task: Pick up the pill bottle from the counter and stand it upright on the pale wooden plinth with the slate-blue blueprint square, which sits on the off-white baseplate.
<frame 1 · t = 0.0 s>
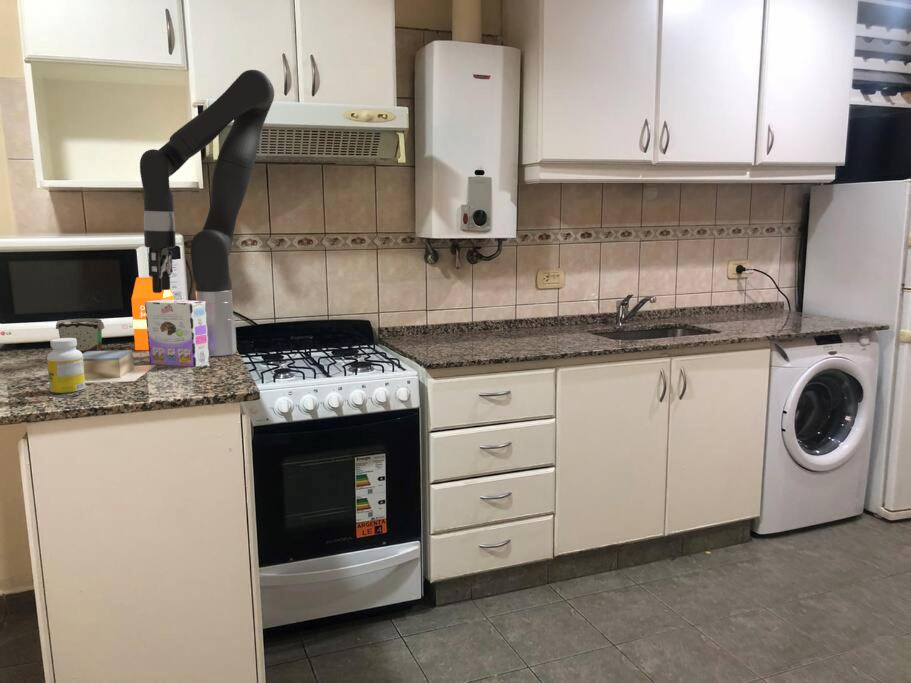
hand: (161, 291, 188), 17 cm above the countertop, tool pointing down, fingers open, 8 cm apart
plinth: (104, 373, 163), resting on baseplate
baseplate: (104, 378, 163), on the countertop
orange juice: (156, 348, 203), on the countertop
pill bottle: (68, 396, 147), on the countertop
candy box: (179, 367, 176), on the countertop
food container: (88, 358, 188), on the countertop
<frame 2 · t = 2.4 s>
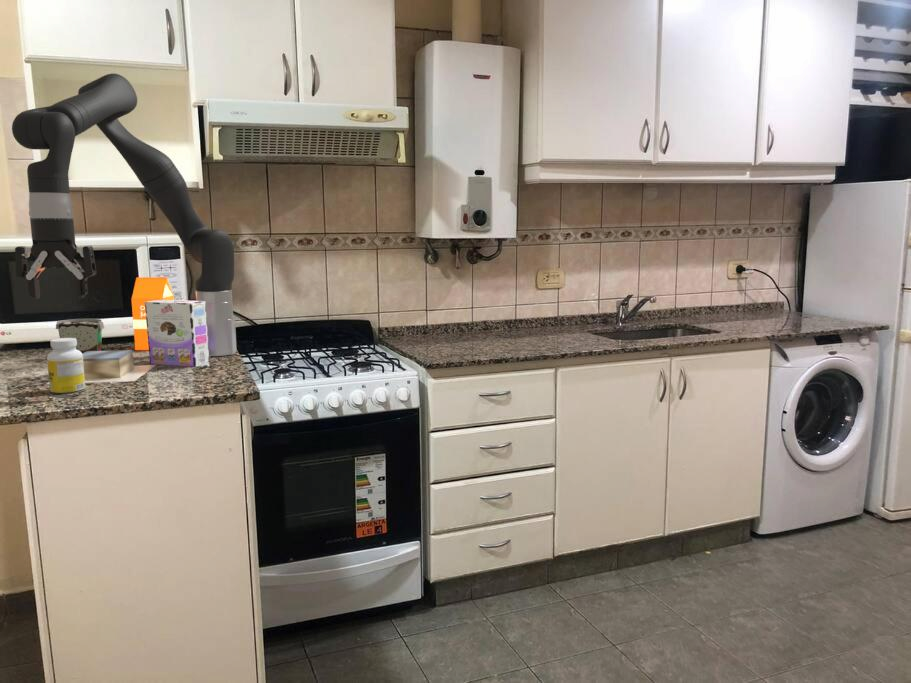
hand: (59, 298, 144), 20 cm above the countertop, tool pointing down, fingers open, 8 cm apart
nothing on the countertop moved.
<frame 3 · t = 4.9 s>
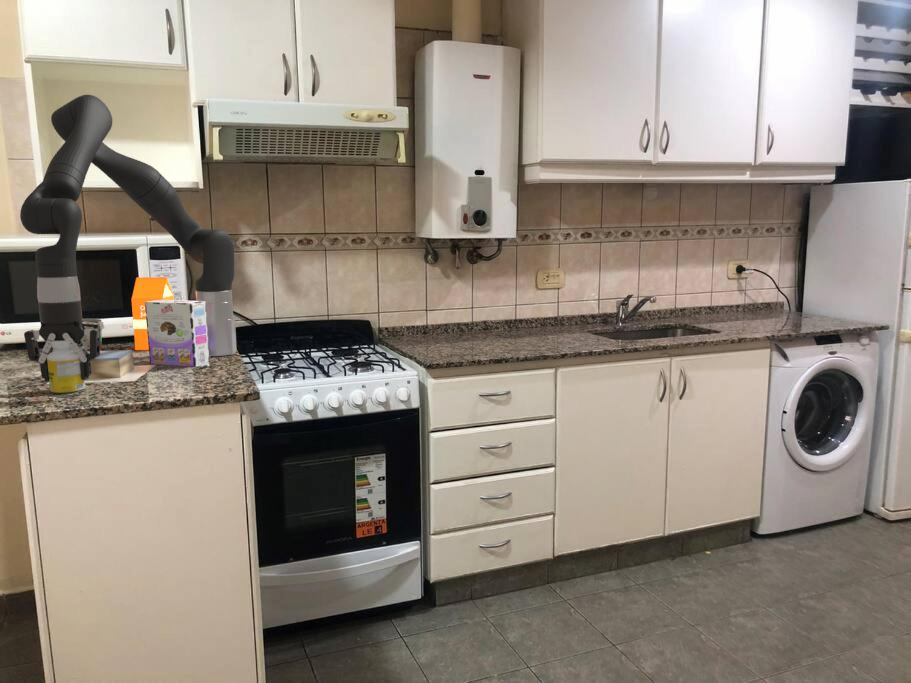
hand: (67, 379, 147), 3 cm above the countertop, tool pointing down, fingers closed on pill bottle, 6 cm apart
pill bottle: (68, 395, 147), on the countertop, touching gripper
everything else where it was.
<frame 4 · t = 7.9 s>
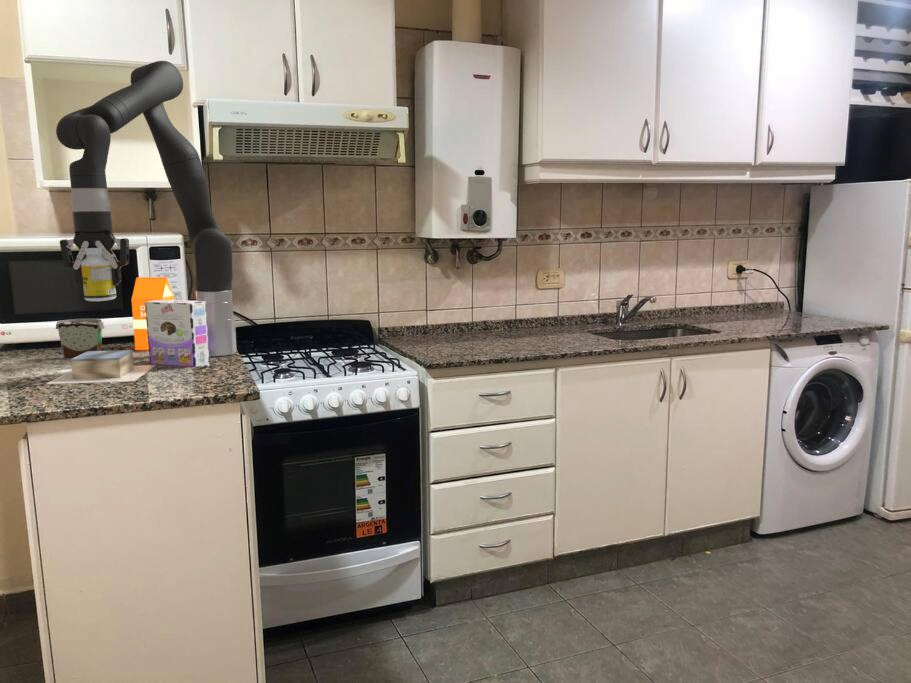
hand: (99, 285, 159), 21 cm above the countertop, tool pointing down, fingers closed on pill bottle, 6 cm apart
pill bottle: (100, 300, 160), point 18 cm above the countertop, touching gripper
everything else where it was.
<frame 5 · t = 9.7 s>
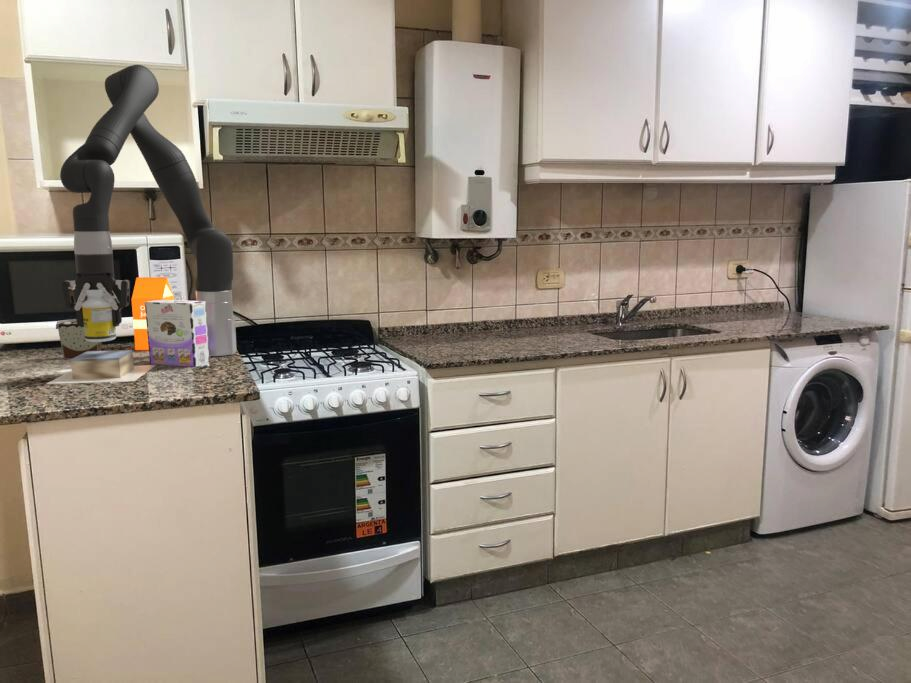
hand: (99, 326, 161), 12 cm above the countertop, tool pointing down, fingers closed on pill bottle, 6 cm apart
pill bottle: (100, 341, 162), point 9 cm above the countertop, touching gripper
everything else where it was.
when the fingers open (10 cm above the countertop, at t = 11.1 s): pill bottle drops 1 cm, resting on plinth.
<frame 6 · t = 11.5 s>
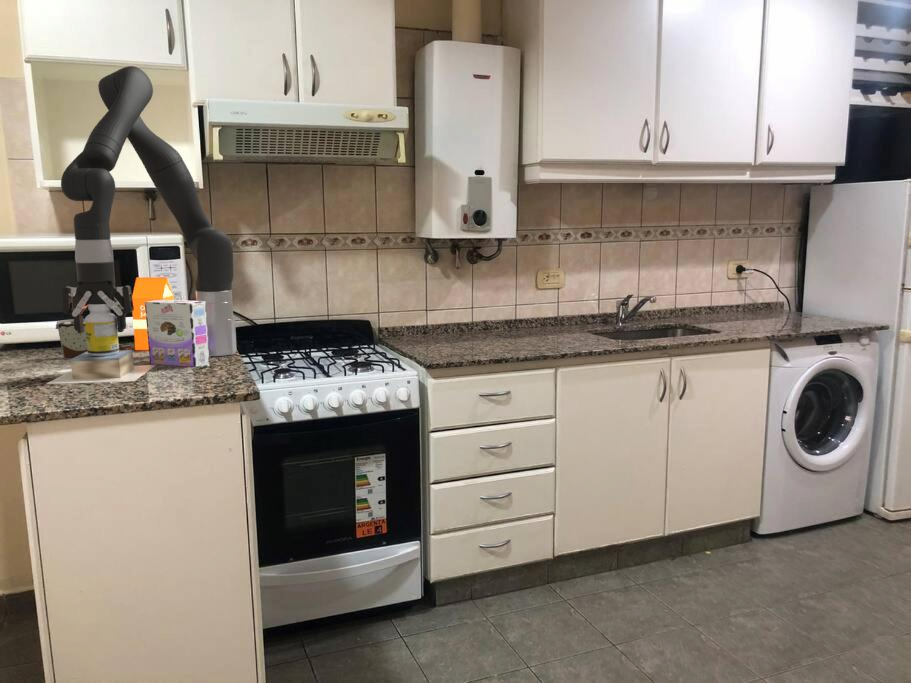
hand: (100, 332, 161), 11 cm above the countertop, tool pointing down, fingers open, 8 cm apart
pill bottle: (103, 355, 162), point 5 cm above the countertop, touching plinth
everything else where it was.
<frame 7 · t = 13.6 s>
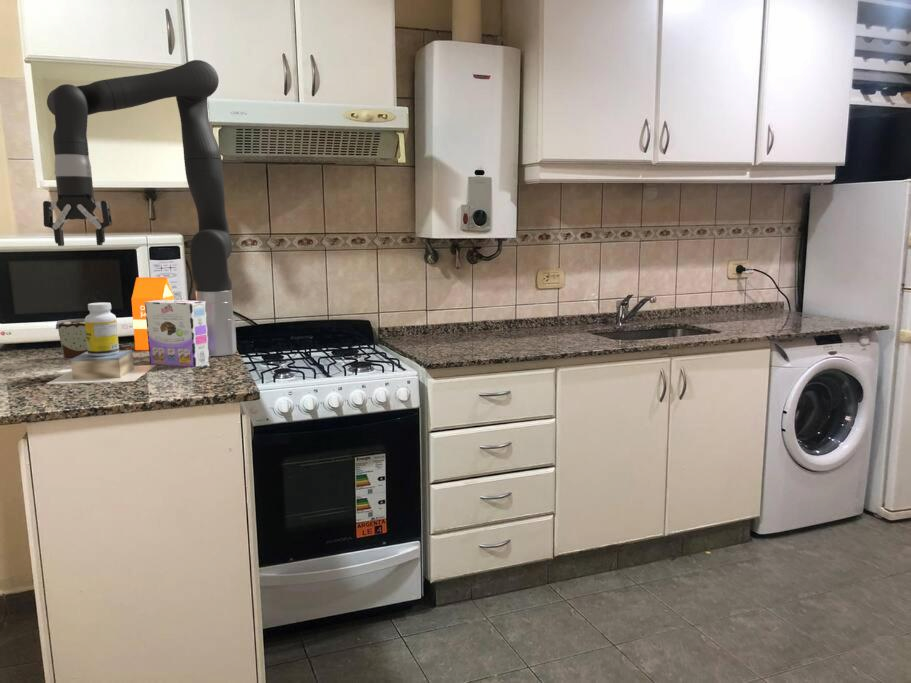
hand: (80, 245, 169), 30 cm above the countertop, tool pointing down, fingers open, 8 cm apart
nothing on the countertop moved.
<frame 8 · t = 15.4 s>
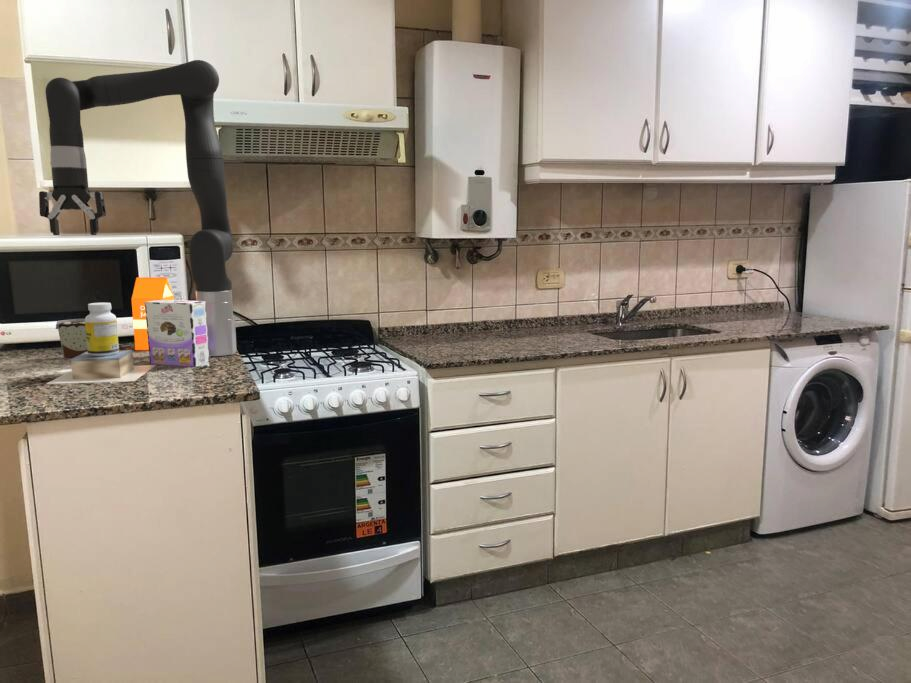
hand: (75, 235, 174), 32 cm above the countertop, tool pointing down, fingers open, 8 cm apart
nothing on the countertop moved.
at the end: pill bottle 0.2 cm off-centre on the plinth, point 4.3 cm above the plinth's base; pill bottle tilted 0°; the gripper is holding nothing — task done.
